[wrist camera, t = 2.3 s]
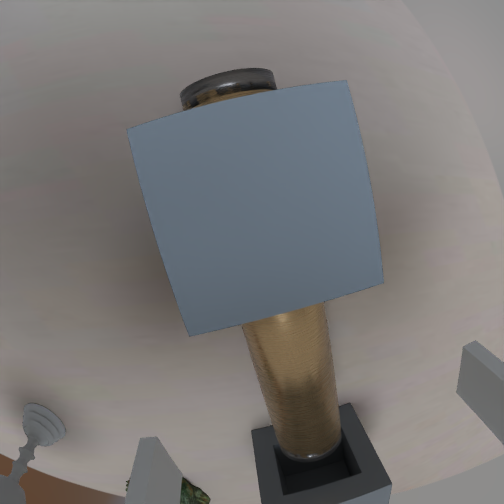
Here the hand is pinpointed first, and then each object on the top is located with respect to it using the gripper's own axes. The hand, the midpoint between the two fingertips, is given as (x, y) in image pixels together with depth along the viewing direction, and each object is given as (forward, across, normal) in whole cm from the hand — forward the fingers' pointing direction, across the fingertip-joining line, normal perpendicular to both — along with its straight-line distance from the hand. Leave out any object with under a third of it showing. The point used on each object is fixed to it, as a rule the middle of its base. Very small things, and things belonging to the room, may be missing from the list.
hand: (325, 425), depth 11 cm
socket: (+12, 0, -14) cm, 18 cm away
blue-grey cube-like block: (+11, 0, +8) cm, 14 cm away
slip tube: (+8, 0, +3) cm, 9 cm away
